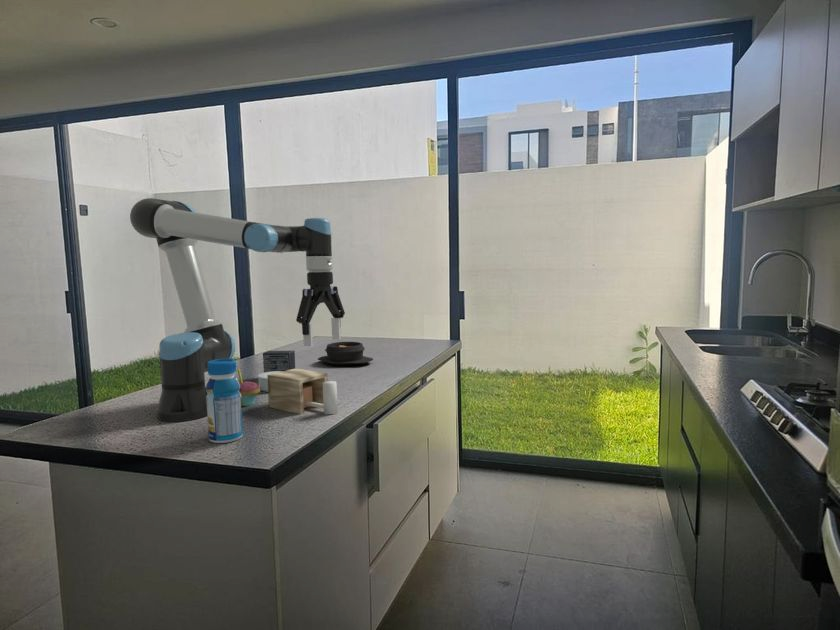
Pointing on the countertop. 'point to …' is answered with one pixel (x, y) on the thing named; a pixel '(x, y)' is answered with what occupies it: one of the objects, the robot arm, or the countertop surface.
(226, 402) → the beverage bottle
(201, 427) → the countertop surface
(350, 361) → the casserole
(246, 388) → the cupcake
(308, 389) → the tethered block
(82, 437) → the countertop surface
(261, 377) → the ramekin
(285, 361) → the small box
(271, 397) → the shelf slot
